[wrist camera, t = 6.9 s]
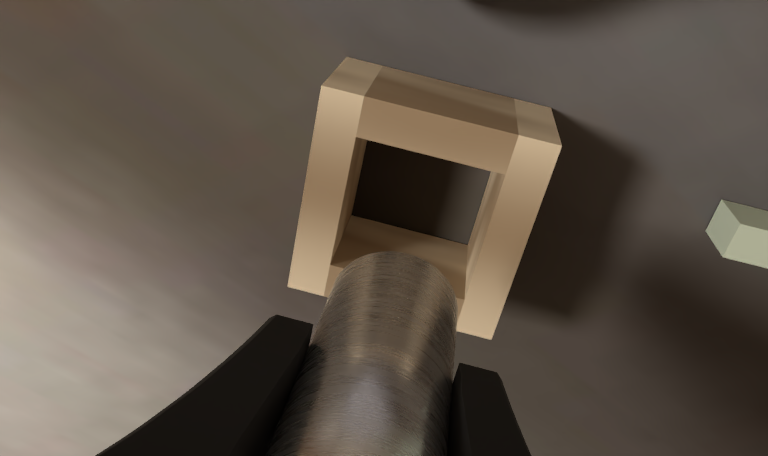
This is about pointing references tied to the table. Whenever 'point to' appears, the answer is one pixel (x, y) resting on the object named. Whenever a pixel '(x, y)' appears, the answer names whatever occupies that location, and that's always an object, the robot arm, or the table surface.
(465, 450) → the robot arm
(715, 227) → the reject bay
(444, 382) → the cylinder
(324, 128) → the block
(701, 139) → the table surface
